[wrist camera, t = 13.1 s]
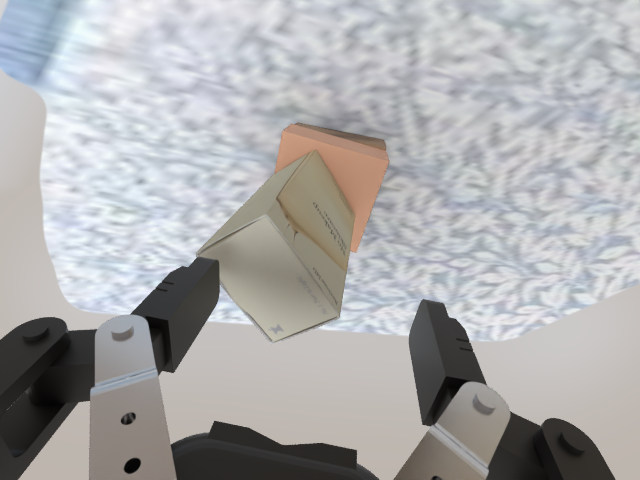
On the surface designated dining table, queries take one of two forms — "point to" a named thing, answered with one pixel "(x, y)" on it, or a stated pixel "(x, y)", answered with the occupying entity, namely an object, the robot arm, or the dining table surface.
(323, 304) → the skincare box
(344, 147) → the terracotta slab
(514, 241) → the dining table surface
